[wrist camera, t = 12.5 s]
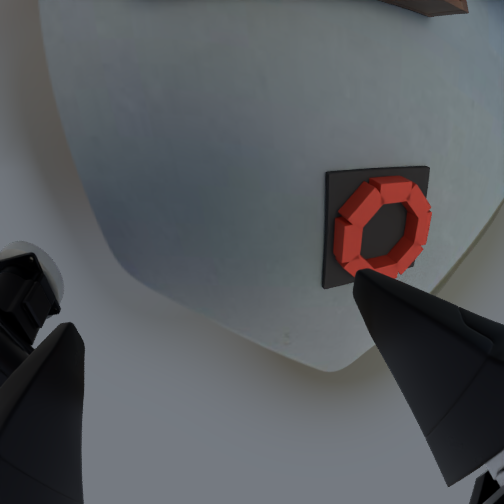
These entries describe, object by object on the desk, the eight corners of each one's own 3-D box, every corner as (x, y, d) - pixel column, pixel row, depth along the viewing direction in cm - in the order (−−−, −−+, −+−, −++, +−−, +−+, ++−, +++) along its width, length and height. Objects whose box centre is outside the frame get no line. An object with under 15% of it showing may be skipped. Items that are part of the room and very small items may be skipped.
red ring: (330, 282, 24) (338, 293, 23) (335, 180, 20) (346, 187, 18) (410, 262, 25) (419, 271, 24) (424, 174, 21) (437, 179, 20)
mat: (321, 286, 25) (324, 289, 24) (325, 171, 20) (328, 173, 19) (410, 264, 26) (413, 266, 26) (426, 165, 21) (430, 167, 21)
